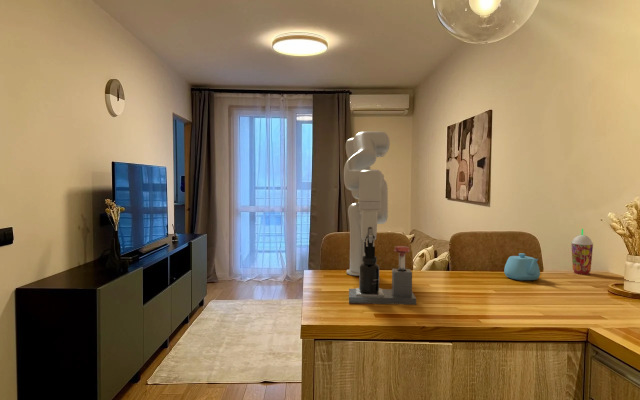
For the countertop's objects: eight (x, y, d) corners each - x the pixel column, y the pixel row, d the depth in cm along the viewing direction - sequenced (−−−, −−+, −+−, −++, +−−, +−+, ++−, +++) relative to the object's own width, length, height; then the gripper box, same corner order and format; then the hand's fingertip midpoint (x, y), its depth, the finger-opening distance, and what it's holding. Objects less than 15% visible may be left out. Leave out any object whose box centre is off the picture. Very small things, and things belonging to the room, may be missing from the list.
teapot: (524, 257, 167) (497, 251, 185) (524, 284, 168) (497, 275, 185) (552, 256, 170) (523, 250, 187) (552, 283, 170) (522, 274, 188)
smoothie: (567, 271, 194) (568, 227, 194) (586, 271, 193) (587, 228, 193) (575, 275, 186) (576, 229, 186) (596, 275, 185) (597, 229, 184)
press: (348, 294, 152) (349, 266, 152) (411, 295, 150) (411, 267, 150) (348, 303, 140) (348, 273, 140) (416, 304, 138) (416, 274, 138)
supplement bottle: (378, 294, 142) (378, 258, 141) (358, 293, 143) (358, 257, 143) (379, 289, 148) (380, 255, 148) (360, 288, 150) (360, 254, 149)
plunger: (393, 278, 147) (393, 245, 147) (408, 279, 147) (408, 246, 146) (395, 282, 142) (395, 248, 142) (410, 282, 142) (410, 248, 141)
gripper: (358, 204, 154) (357, 251, 155) (359, 208, 136) (358, 260, 137) (379, 204, 153) (378, 251, 154) (382, 208, 136) (382, 261, 137)
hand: (369, 255), depth 146 cm, fingers open, 9 cm apart
